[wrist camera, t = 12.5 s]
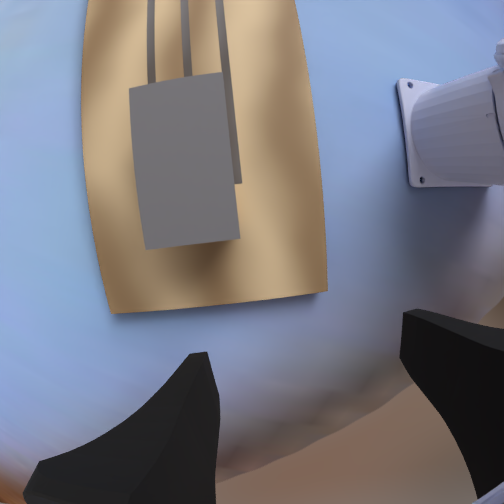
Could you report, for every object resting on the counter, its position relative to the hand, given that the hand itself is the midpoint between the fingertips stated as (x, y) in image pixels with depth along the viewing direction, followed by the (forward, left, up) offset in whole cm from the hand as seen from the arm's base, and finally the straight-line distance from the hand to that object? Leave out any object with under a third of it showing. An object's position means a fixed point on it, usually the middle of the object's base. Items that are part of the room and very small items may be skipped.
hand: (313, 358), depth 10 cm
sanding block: (+4, -7, -8) cm, 12 cm away
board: (+4, -12, -10) cm, 16 cm away
